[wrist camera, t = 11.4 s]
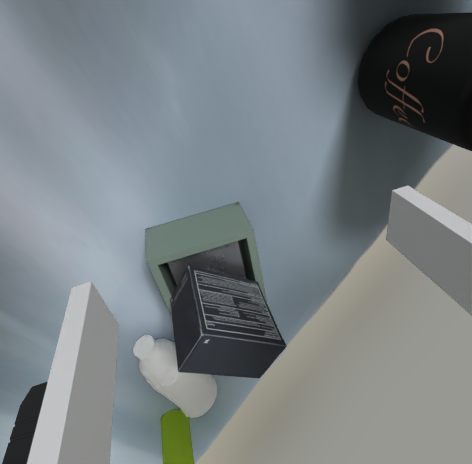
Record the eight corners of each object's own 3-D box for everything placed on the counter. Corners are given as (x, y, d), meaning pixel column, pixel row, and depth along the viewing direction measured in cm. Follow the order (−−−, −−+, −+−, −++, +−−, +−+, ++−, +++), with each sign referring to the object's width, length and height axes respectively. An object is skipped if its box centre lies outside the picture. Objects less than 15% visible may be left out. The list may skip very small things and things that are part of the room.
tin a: (227, 216, 43) (236, 236, 39) (236, 252, 47) (245, 273, 43) (163, 235, 42) (166, 258, 38) (177, 270, 46) (180, 294, 42)
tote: (238, 201, 43) (253, 228, 37) (255, 283, 52) (269, 314, 47) (145, 229, 42) (146, 261, 36) (179, 307, 51) (184, 343, 46)
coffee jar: (365, 13, 34) (531, 6, 20) (446, 15, 36) (649, 11, 22) (344, 115, 40) (461, 168, 26) (416, 111, 42) (559, 158, 28)
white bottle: (164, 313, 51) (168, 354, 45) (213, 367, 62) (221, 406, 56) (121, 335, 52) (118, 379, 45) (177, 384, 63) (182, 425, 56)
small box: (167, 301, 40) (174, 375, 32) (187, 263, 38) (201, 332, 29) (237, 314, 45) (259, 382, 37) (259, 281, 42) (289, 345, 34)
